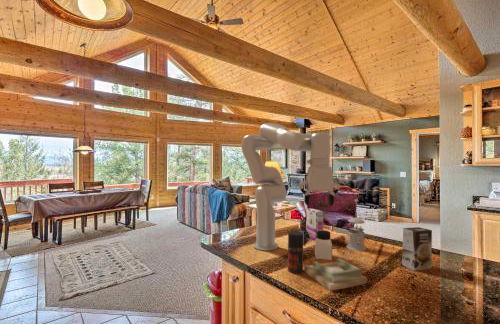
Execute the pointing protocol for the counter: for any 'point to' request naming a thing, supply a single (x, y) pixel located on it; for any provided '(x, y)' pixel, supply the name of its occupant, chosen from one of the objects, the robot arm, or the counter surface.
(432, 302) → the counter surface
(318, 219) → the candy bar box
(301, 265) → the deodorant
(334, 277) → the dock
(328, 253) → the medicine bottle
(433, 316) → the counter surface
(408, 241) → the coffee box
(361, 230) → the french press
